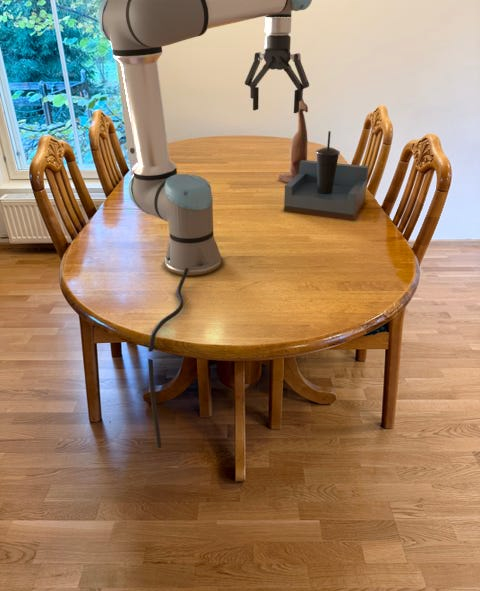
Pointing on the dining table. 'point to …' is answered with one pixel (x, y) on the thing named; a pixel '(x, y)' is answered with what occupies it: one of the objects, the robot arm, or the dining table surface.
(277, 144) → the dining table surface
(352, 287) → the dining table surface
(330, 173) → the drinking cup
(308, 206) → the sofa
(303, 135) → the bird sculpture
